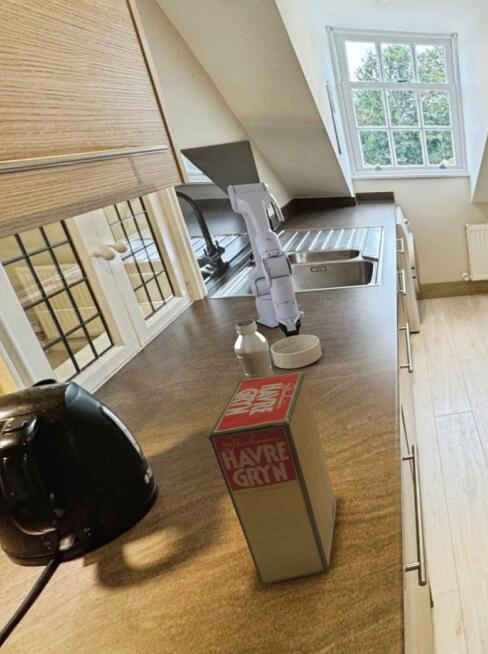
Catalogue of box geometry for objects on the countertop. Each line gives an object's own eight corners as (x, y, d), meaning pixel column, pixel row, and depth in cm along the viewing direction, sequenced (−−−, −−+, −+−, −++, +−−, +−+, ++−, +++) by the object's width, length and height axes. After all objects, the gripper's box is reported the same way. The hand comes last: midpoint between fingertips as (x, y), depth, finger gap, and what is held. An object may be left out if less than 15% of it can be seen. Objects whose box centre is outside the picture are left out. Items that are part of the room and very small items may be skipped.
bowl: (265, 362, 121) (261, 347, 119) (305, 345, 130) (302, 331, 128) (290, 374, 114) (286, 358, 112) (331, 355, 123) (328, 341, 121)
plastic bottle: (289, 399, 104) (269, 319, 96) (265, 415, 98) (241, 331, 90) (270, 393, 106) (248, 314, 98) (244, 408, 100) (220, 326, 93)
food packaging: (277, 512, 73) (237, 377, 63) (338, 501, 75) (308, 368, 65) (257, 588, 61) (203, 435, 51) (330, 571, 63) (292, 422, 53)
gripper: (303, 305, 118) (313, 351, 123) (297, 289, 130) (306, 332, 135) (274, 310, 115) (285, 358, 120) (270, 294, 127) (280, 338, 132)
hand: (294, 345), depth 128 cm, fingers closed
